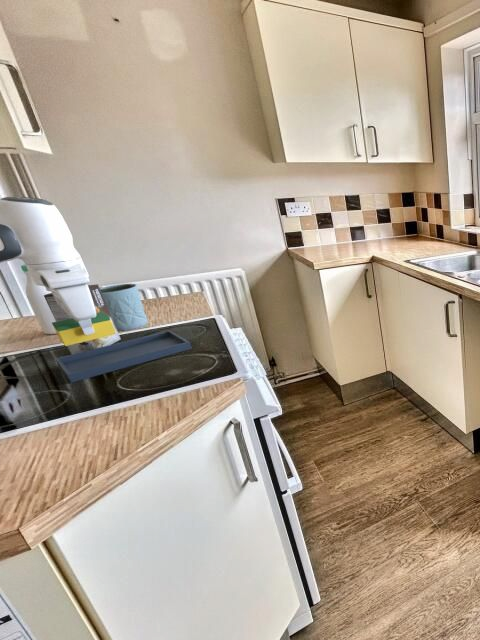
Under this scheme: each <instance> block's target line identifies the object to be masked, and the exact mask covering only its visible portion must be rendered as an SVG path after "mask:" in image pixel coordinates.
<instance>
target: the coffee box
mask: <svg viewBox="0 0 480 640" xmlns="http://www.w3.org/2000/svg"><path fill="white" fill-rule="evenodd" d="M87 285H88V287H89V290H90V293H91V296H92V299H93V302H94V306H95V309H96V313H100V312H103V313H105V314H106V315H108V316H109V317H110V320H111V322H112V324H113V327H114V329H115V331H116V334H114V335H110V336H105V337H101V338H97V339H93V340H89V341H85V342H81V343H77V344H73V345H69V346H67V348H68V350H69V352H70V355H72V354H76V353H80V352H84V351H88V350H92V349H96V348H100V347H104V346H108V345H112V344H116V343H118V342H120V340H122V339H121V336H120V334H119V331H117V329H116V326H115V324H114V322H113V319H112V317H111V314H110V312H109V310H108V307H107V305H106V303H105V300H104V298H103V295H102V293H101V291H100V288H101V287H100V286H99V284H97V283H96V284H87ZM44 297H45V299H46V301H47V304H48V306H49V308H50V310H51V312H52V314H53V316H54V318H55V321H56V322H58V321H62V320H67V319H72V318H71V317H70V315H69V314H67V313H66V312H65V311H64V310H63V309H62V308H61V307H59V306H58V304H57V303H56V301H55V298H54V296H53V294H52V293H49V294H46V295H44Z"/></svg>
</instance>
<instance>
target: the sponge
mask: <svg viewBox="0 0 480 640" xmlns="http://www.w3.org/2000/svg"><path fill="white" fill-rule="evenodd" d="M91 322H92V327H93V329H94V331H95V332H94V333H93V334H89V335H85V334H84V333H83V331H82V329H81V327H80V325H79V323H78V321H75V320H74V319H73V318H72V319H67V320H62V321H58V322H53V323H52V325H53V326H54V329H55V331H56V333H57V334H56V335H57V337H58V339H59V341H60V342H61V343H62V344H63V345H64V346H65V347H68V346H69V345H73V344H77V343H81V342H85V341H89V340H93V339H97V338H101V337H105V336H110V335H114V334H116V331H115V329H114V327H113V324H112V322H111V320H110V317H109V316H108V315H106V314H105V313H103V312H100V313H96V317H95V318H91Z"/></svg>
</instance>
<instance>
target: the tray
mask: <svg viewBox="0 0 480 640" xmlns="http://www.w3.org/2000/svg"><path fill="white" fill-rule="evenodd" d="M189 350H192V345H191V342H190V341H189V340H188V339H185V338H184V337H182V336H180V335H179V334H177V333H175V332H174V331H172V330H165V331H161V332H158V333H153V334H149V335H145V336H140V337H137V338H132V339H129V340H124V341H121V342H120V341H119V342H115V343H113V344H111V345H108V346H104V347H100V348H96V349H92V350H88V351H84V352H80V353H76V354H68V355H64V356H60V357H56V358H54V360H55V362H56V364H57V366H58V368H59V369H60V370H61V371H62V373H63V374H64V376H65V377H66V378H67V380H68V381H69V383H71V384H72V383H75V382H80V381H84V380H87V379H89V378H93V377H97V376H100V375H104V374H108V373H111V372H115V371H118V370H123V369H126V368H129V367H133V366H136V365H140V364H143V363H147V362H150V361H154V360H157V359H161V358H164V357H168V356H172V355H176V354H179V353H182V352H186V351H189Z"/></svg>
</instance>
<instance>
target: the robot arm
mask: <svg viewBox="0 0 480 640" xmlns="http://www.w3.org/2000/svg"><path fill="white" fill-rule="evenodd" d="M17 259H18V260H21V261H23V263H24V265H26V267H27V269H28V271H29V273H30V275H31V277H32V280H33V282H34V284H35V285H41V286H44V287H45V288H46V290H47V291H51V292H52V294H53V296H54V298H55V301H56V303H57V304H58V306H59V307H61V308H62V309H63V310H64V311H65V312H66V313H67V314H69V315H70V317H71V318H73V319H74V320H75V321H78V323H79V325H80V327H81V329H82V331H83V333H84V334H85V335H89V334H93V333H94V332H95V331H94V329H93V327H92V322H91V318H95V317H96V309H95V306H94V302H93V299H92V296H91V293H90V290H89V287H88V285H89V283H90V282H91V281H90V274H89V273H88V269H87V268H86V265H85V263H84V261H83V259H82V256H81V254H80V253H79V252H78V250H77V249H76V248H75V245H74V238H73V235H72V233H71V231H70V228H69V227H68V224H67V222H66V220H65V219H64V217H63V215H62V213H61V212H60V211H59V209H58V208H57V206H56V205H55V204H53V202H51V201H49V200H47V199H42V198H39V197H38V198H37V197H30V196H29V197H28V196H4V197H1V198H0V264H2V263H6V262H10V261H13V260H17Z"/></svg>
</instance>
